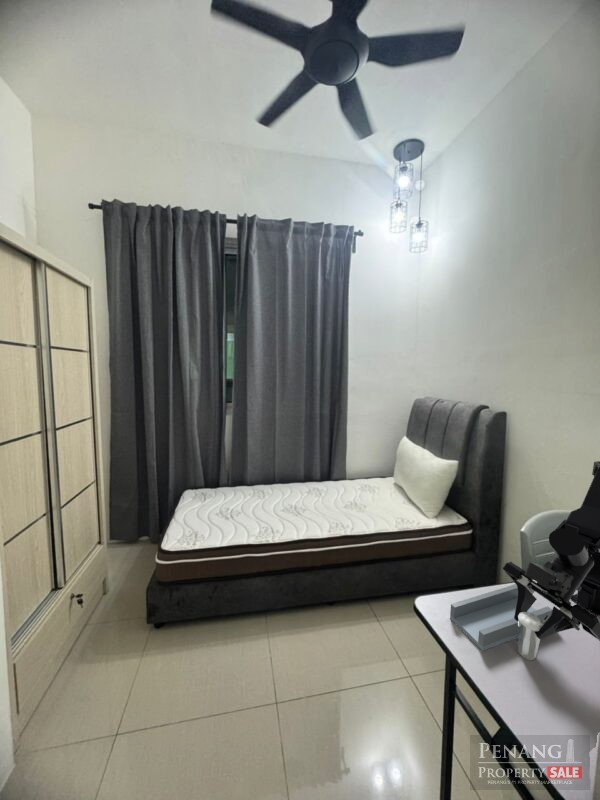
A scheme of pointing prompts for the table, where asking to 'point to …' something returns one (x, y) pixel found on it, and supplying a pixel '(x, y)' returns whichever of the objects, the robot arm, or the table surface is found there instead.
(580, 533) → the robot arm
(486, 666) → the table surface
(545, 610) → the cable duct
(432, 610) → the table surface
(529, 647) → the milkshake
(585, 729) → the table surface
